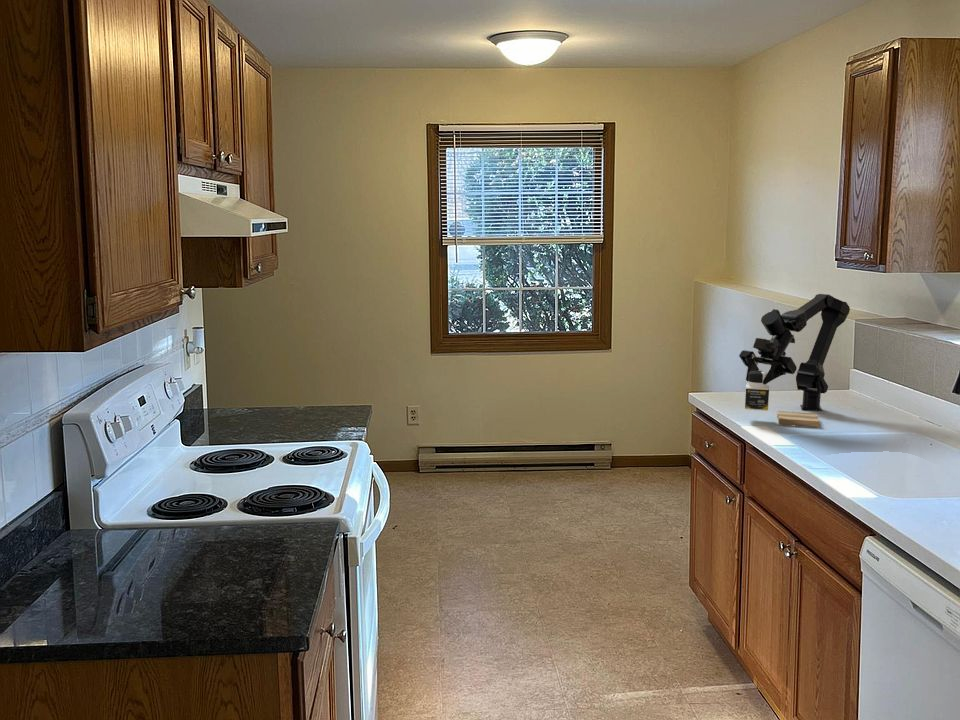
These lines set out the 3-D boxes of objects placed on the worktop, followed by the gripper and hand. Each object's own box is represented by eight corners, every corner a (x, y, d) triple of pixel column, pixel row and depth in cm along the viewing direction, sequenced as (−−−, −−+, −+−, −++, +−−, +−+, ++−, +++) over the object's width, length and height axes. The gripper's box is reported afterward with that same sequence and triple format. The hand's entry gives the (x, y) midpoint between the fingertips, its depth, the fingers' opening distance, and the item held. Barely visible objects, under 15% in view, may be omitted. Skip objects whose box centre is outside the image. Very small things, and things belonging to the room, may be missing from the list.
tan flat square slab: (776, 417, 313) (777, 411, 313) (815, 419, 310) (815, 413, 310) (779, 425, 302) (779, 418, 301) (819, 427, 299) (819, 421, 298)
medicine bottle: (744, 409, 305) (746, 372, 303) (745, 404, 312) (747, 368, 310) (768, 411, 303) (770, 373, 301) (768, 406, 310) (770, 370, 308)
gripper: (743, 325, 313) (721, 362, 308) (793, 332, 298) (770, 370, 294) (757, 347, 319) (735, 383, 314) (806, 354, 304) (784, 392, 300)
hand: (755, 382), depth 305 cm, fingers closed on medicine bottle, 6 cm apart
